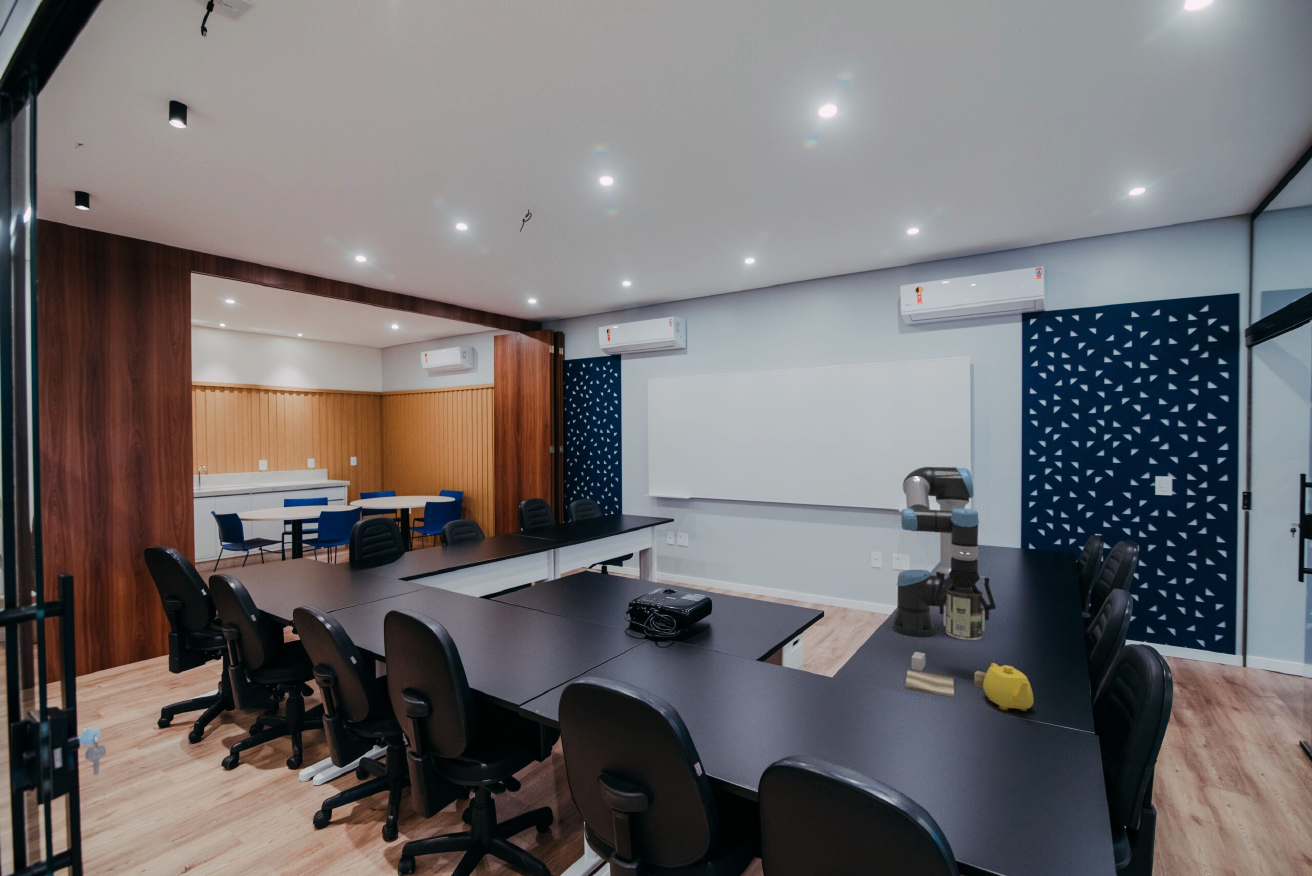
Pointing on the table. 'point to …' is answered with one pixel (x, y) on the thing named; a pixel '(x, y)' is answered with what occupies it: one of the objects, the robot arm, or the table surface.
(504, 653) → the table surface
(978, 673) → the beech brick
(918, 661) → the off-white brick
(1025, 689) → the teapot
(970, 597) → the coffee can
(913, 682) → the trivet
